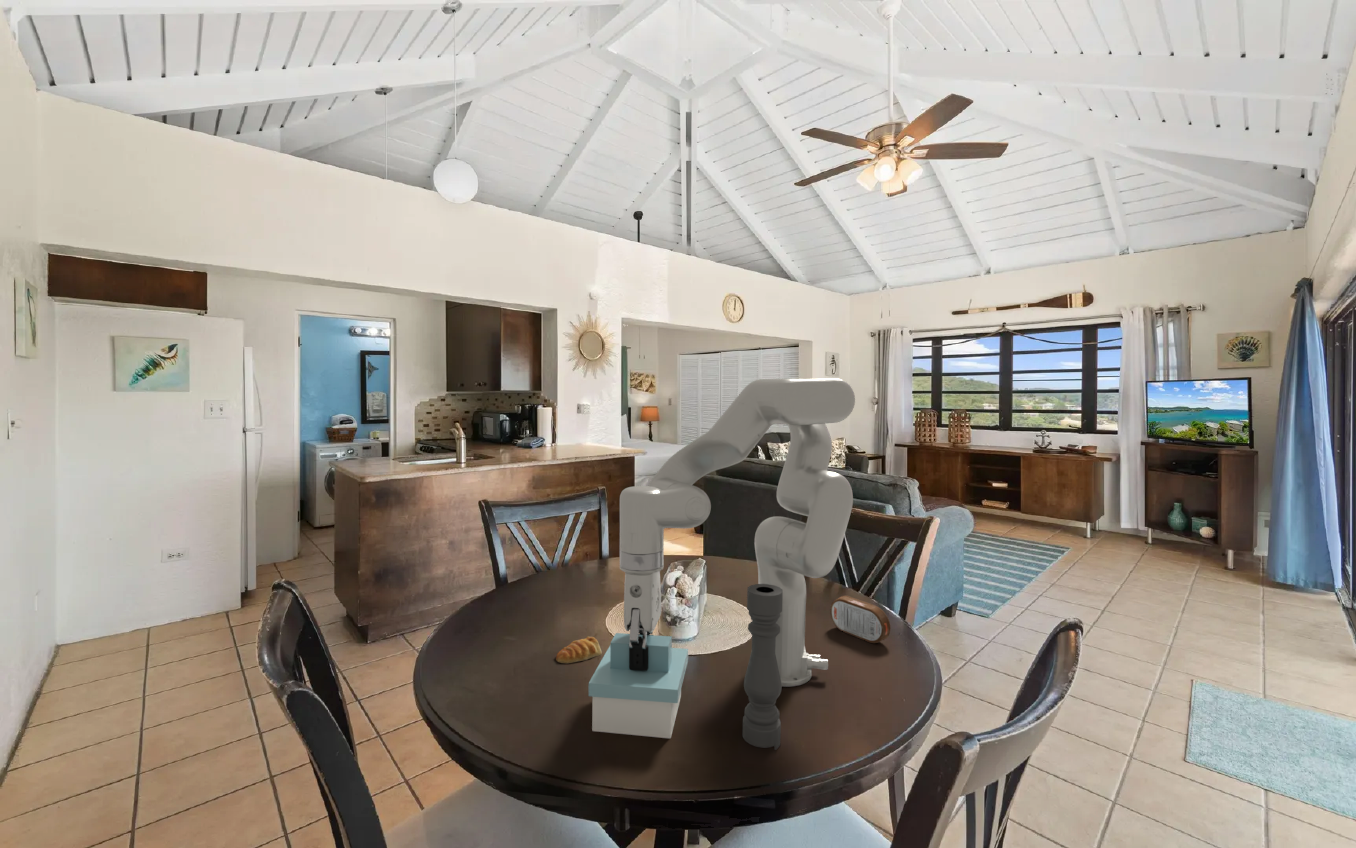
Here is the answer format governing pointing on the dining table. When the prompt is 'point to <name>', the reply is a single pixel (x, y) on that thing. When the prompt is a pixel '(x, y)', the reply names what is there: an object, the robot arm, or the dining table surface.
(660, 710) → the tub
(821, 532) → the robot arm
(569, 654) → the pastry
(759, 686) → the candle holder
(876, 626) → the tin
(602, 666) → the lid
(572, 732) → the dining table surface
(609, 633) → the dining table surface
